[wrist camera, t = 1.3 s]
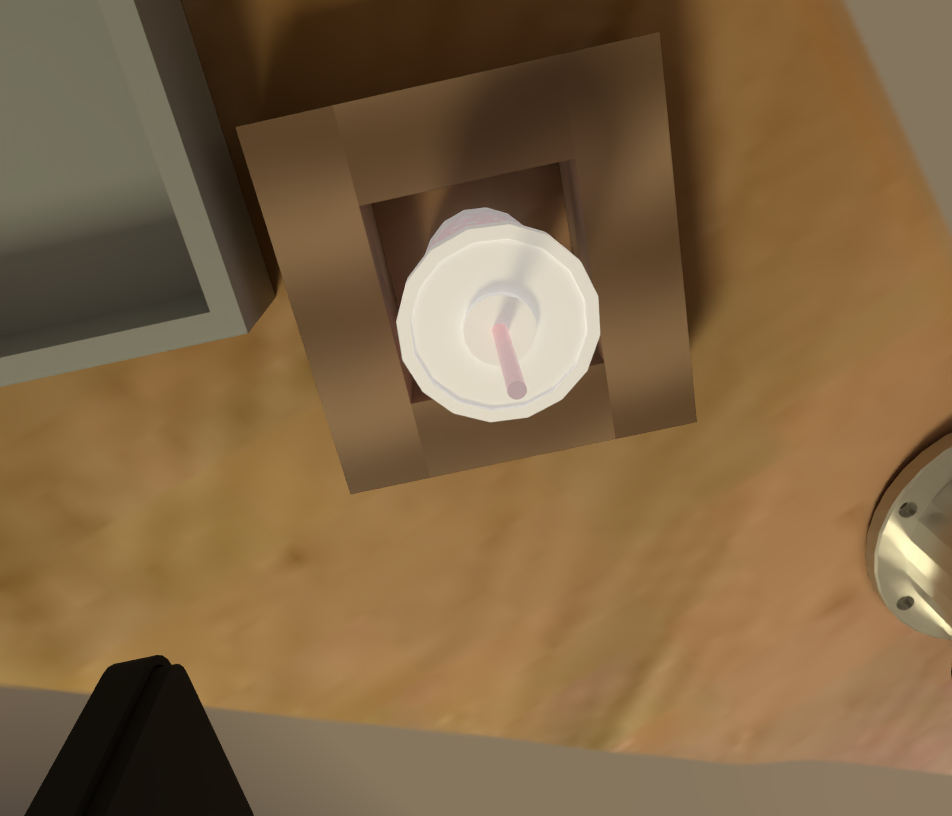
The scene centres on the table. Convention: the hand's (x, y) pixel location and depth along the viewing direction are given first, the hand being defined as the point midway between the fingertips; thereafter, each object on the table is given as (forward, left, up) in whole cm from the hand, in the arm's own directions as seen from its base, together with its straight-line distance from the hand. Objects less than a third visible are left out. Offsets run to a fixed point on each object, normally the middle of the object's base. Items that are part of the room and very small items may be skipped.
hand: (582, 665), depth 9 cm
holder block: (0, 0, -23) cm, 23 cm away
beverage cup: (0, 0, -24) cm, 24 cm away
